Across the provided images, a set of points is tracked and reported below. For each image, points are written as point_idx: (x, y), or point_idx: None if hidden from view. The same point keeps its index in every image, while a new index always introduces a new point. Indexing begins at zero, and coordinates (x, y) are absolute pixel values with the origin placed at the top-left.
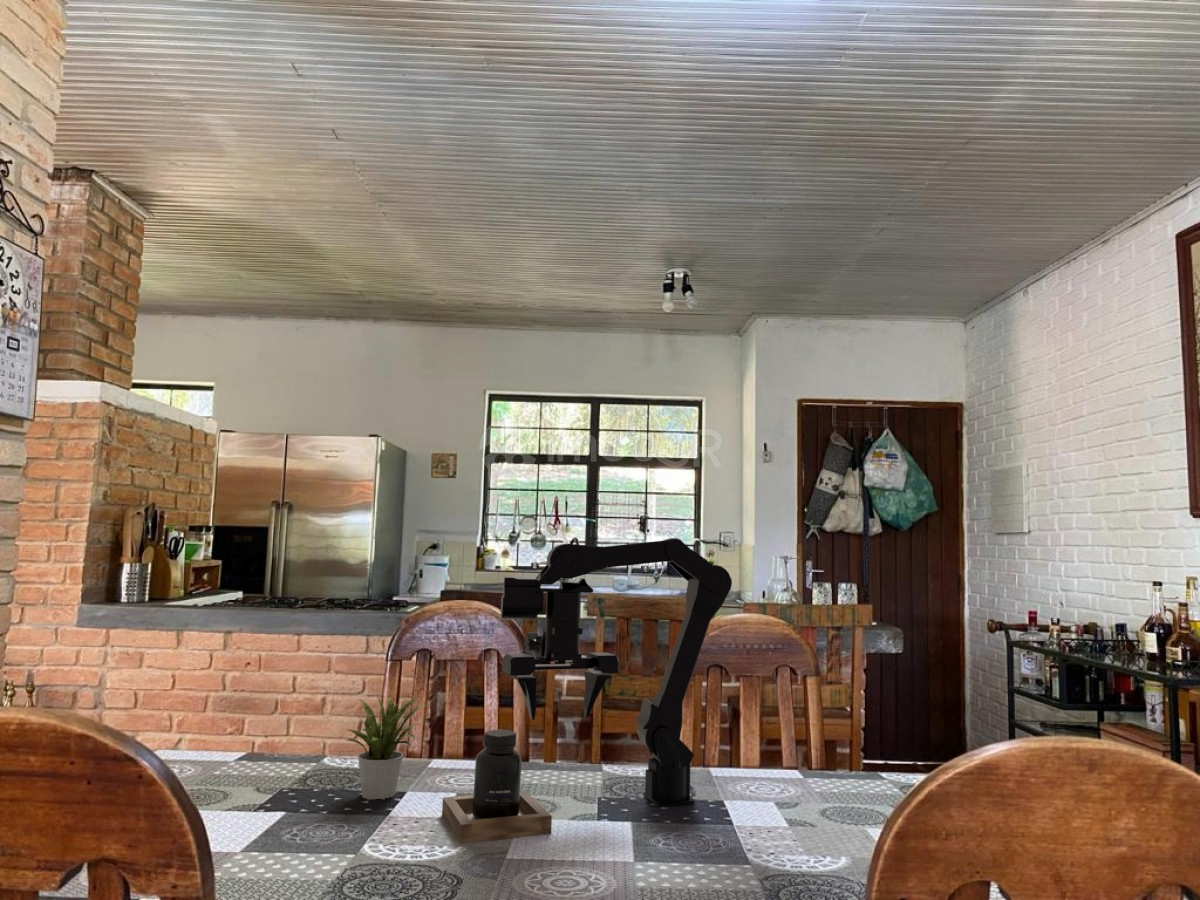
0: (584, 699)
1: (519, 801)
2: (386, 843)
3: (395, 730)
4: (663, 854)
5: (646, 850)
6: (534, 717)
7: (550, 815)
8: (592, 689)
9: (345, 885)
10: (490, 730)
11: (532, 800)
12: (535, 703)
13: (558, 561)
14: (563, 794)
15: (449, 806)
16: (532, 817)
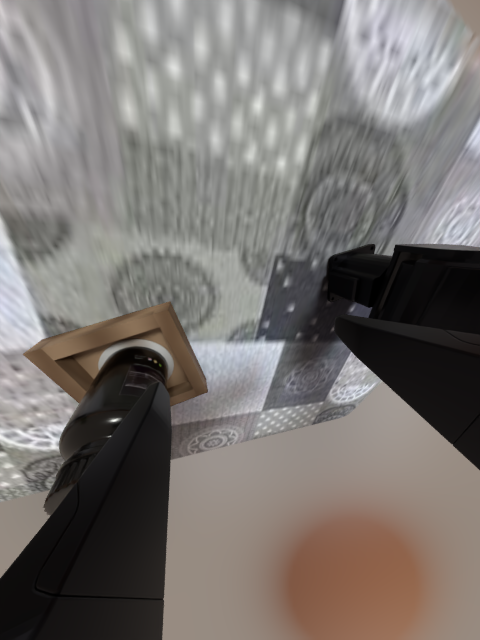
0: (393, 338)
1: (167, 379)
2: (22, 427)
3: None
4: (283, 398)
5: (275, 395)
6: (168, 404)
7: (206, 391)
8: (442, 429)
9: (47, 485)
10: (53, 498)
11: (183, 351)
12: (167, 476)
13: None
14: (228, 239)
15: (61, 387)
16: (187, 399)
